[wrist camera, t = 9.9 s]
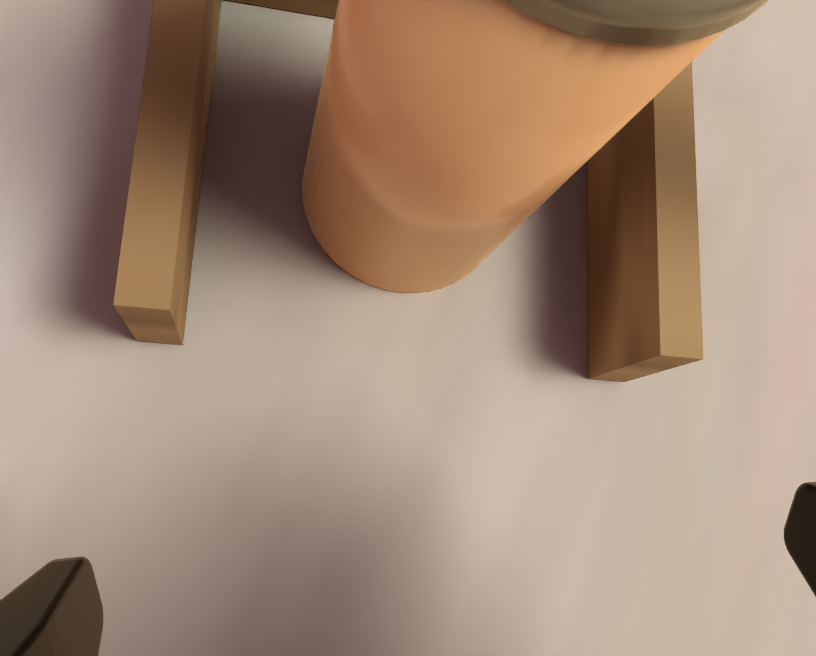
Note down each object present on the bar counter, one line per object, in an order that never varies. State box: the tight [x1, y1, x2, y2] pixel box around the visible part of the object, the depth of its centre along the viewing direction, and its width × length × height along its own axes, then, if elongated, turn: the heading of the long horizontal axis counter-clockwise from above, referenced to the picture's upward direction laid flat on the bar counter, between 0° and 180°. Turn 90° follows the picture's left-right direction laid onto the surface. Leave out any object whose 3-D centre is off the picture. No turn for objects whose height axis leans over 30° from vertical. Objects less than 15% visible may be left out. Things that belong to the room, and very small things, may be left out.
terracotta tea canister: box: [302, 0, 768, 293], centre depth 14 cm, size 5×5×12 cm
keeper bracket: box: [113, 0, 703, 382], centre depth 18 cm, size 10×12×4 cm
